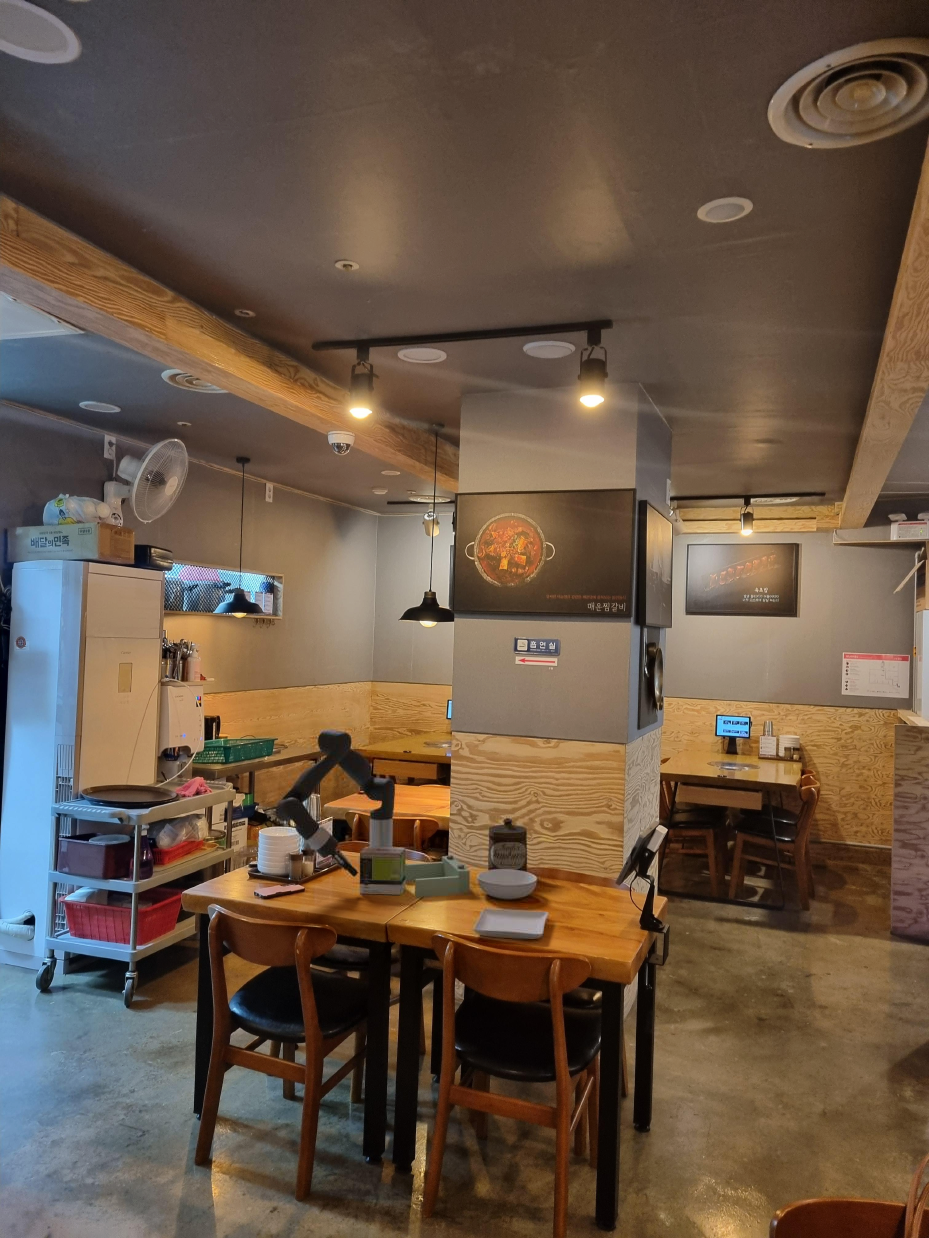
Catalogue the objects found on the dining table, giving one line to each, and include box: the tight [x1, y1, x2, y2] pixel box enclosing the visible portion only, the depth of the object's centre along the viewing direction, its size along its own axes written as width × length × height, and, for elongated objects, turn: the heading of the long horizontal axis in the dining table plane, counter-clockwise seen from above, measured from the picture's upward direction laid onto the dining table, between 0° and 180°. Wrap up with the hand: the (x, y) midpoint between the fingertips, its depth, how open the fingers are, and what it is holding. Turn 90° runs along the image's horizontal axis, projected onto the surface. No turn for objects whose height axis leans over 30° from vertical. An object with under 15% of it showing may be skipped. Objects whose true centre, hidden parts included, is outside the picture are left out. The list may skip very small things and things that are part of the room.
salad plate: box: [472, 908, 549, 940], centre depth 263 cm, size 21×21×3 cm
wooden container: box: [487, 817, 528, 872], centre depth 325 cm, size 15×15×22 cm
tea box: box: [359, 846, 406, 896], centre depth 303 cm, size 15×10×15 cm, turn 84°
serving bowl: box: [477, 869, 538, 901], centre depth 299 cm, size 21×21×7 cm
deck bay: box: [405, 854, 471, 898], centre depth 308 cm, size 22×20×9 cm
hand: (356, 874), depth 300 cm, fingers closed
